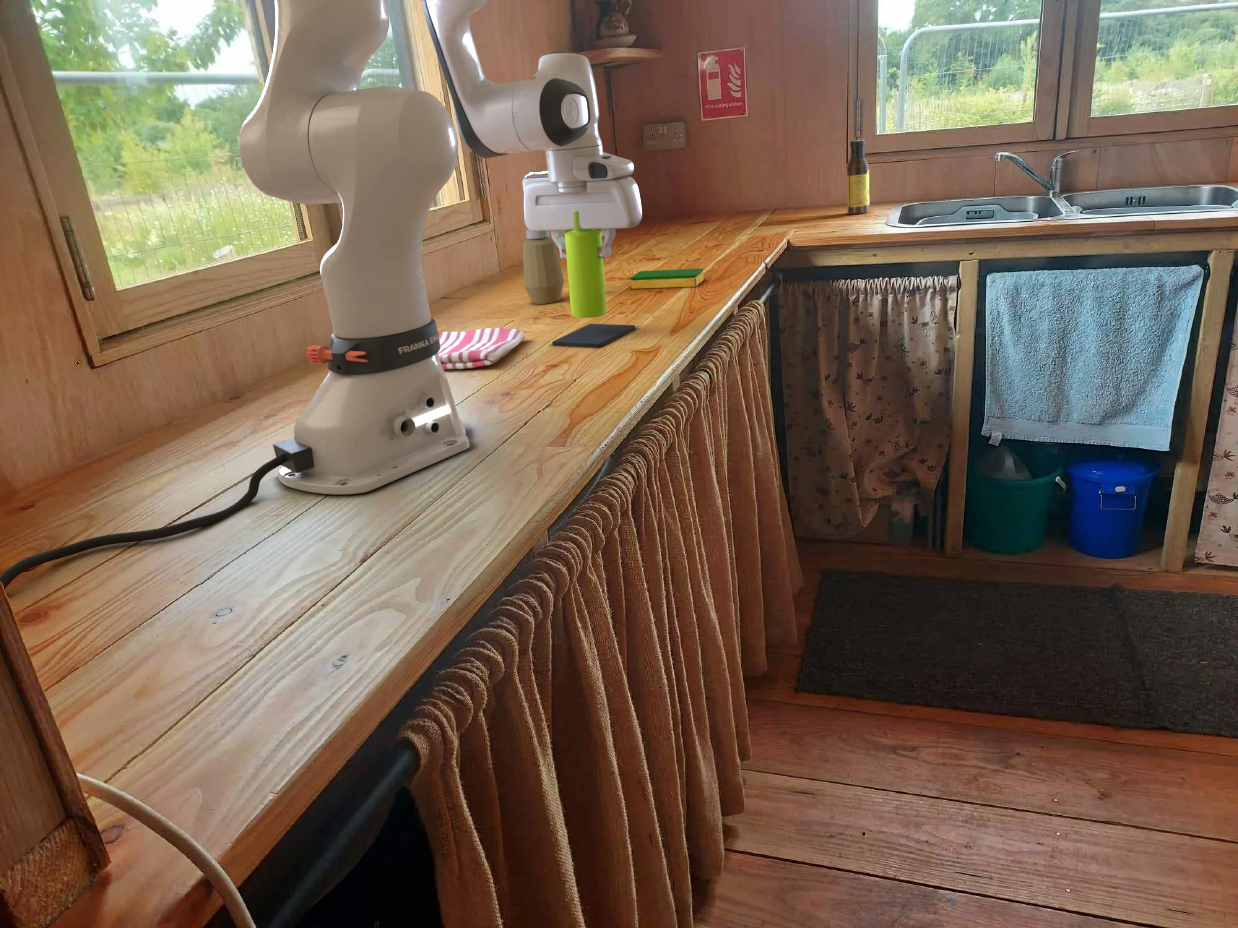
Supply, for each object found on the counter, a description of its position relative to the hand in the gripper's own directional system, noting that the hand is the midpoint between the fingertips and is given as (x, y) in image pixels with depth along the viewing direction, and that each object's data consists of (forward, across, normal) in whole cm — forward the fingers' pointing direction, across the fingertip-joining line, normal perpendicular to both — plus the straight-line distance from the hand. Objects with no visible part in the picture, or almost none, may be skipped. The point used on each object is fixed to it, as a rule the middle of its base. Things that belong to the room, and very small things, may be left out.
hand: (585, 258), depth 140 cm
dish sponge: (+13, -7, +41) cm, 44 cm away
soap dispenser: (+9, 0, 0) cm, 9 cm away
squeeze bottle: (+13, -26, +24) cm, 38 cm away
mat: (+13, 0, 0) cm, 13 cm away
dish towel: (+13, -19, -16) cm, 28 cm away
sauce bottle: (+13, +5, +140) cm, 141 cm away
